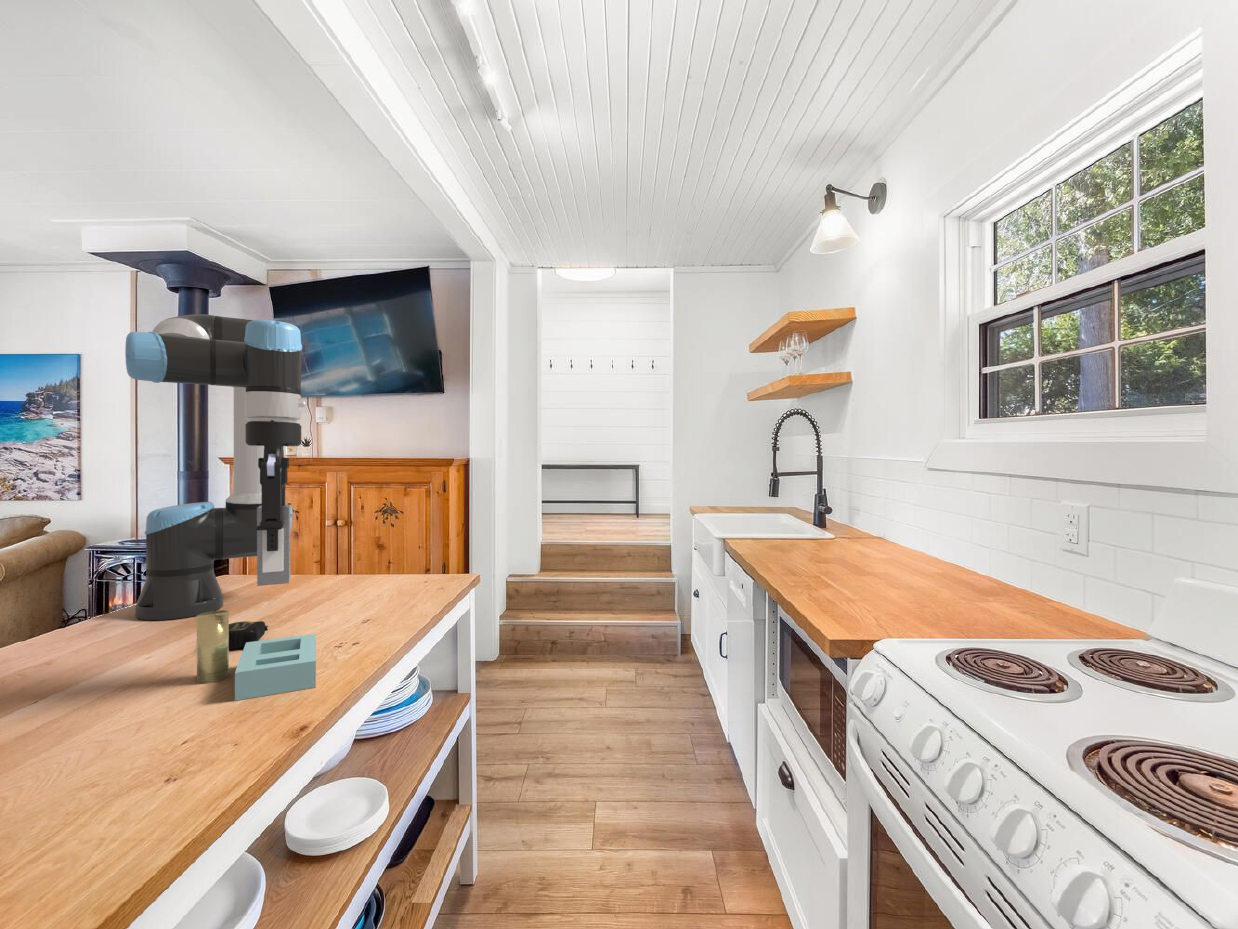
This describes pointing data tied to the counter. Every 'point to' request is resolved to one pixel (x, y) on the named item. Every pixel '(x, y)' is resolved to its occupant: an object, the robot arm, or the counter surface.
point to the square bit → (284, 575)
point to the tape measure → (245, 633)
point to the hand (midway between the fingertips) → (274, 568)
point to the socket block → (276, 666)
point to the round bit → (212, 646)
